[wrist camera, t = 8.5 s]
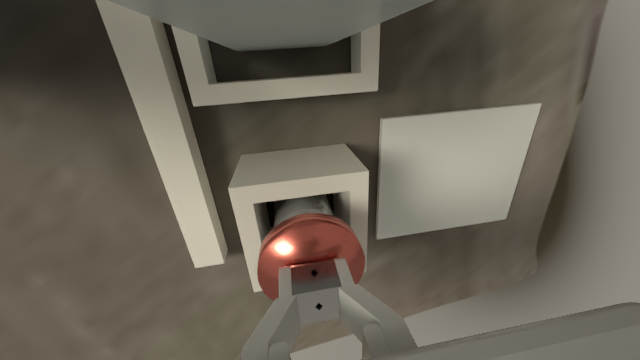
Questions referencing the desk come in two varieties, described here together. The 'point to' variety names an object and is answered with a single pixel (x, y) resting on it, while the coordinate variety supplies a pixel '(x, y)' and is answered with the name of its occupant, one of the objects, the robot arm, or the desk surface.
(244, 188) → the tower
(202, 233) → the socket
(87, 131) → the desk surface
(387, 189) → the pad
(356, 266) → the plunger
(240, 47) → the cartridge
